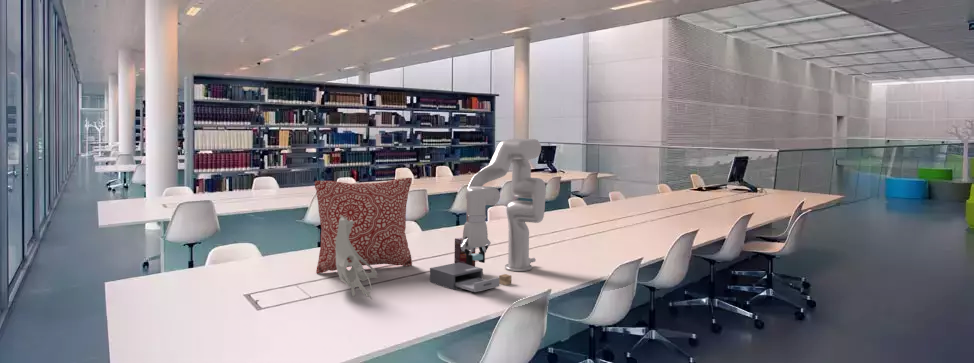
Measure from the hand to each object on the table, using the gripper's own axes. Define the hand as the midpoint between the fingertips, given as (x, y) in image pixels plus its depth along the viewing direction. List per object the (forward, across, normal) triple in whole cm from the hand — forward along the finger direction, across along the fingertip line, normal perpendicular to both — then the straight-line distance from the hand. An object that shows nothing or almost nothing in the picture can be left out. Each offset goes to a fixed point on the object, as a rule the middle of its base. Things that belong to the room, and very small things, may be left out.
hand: (475, 262), depth 235 cm
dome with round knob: (-2, 0, 0) cm, 2 cm away
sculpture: (+11, +37, -28) cm, 48 cm away
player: (+11, 0, -12) cm, 16 cm away
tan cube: (+10, -14, +2) cm, 18 cm away
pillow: (+11, +16, -58) cm, 61 cm away
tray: (+10, 0, -1) cm, 10 cm away
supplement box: (+11, -14, -22) cm, 28 cm away
